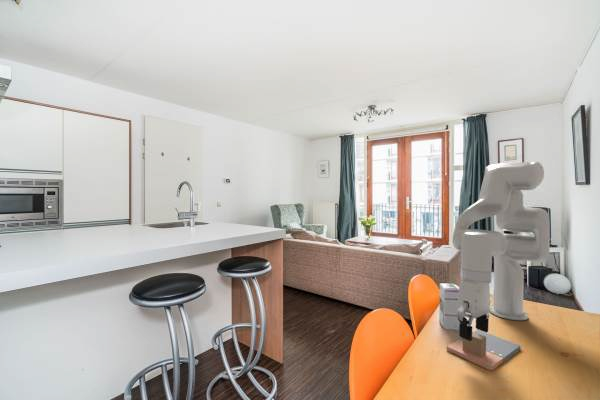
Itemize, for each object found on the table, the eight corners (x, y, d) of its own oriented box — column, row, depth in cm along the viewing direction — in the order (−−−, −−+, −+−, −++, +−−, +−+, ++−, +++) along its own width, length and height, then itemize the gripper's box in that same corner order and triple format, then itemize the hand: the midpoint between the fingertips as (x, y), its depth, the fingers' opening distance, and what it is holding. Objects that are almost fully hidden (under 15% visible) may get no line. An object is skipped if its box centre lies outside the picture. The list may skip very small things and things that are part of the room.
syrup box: (461, 330, 98) (462, 288, 97) (442, 329, 99) (443, 287, 99) (455, 323, 103) (456, 283, 103) (438, 321, 104) (439, 282, 104)
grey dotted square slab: (477, 333, 96) (477, 329, 96) (520, 349, 86) (520, 345, 86) (459, 343, 89) (459, 339, 89) (503, 361, 79) (503, 357, 79)
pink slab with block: (459, 342, 89) (459, 323, 89) (503, 361, 79) (503, 340, 79) (446, 349, 85) (447, 329, 85) (491, 370, 75) (491, 347, 75)
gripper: (476, 268, 90) (474, 322, 90) (446, 276, 80) (444, 336, 80) (503, 274, 83) (501, 332, 83) (475, 283, 74) (473, 348, 74)
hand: (473, 334), depth 82 cm, fingers open, 9 cm apart
